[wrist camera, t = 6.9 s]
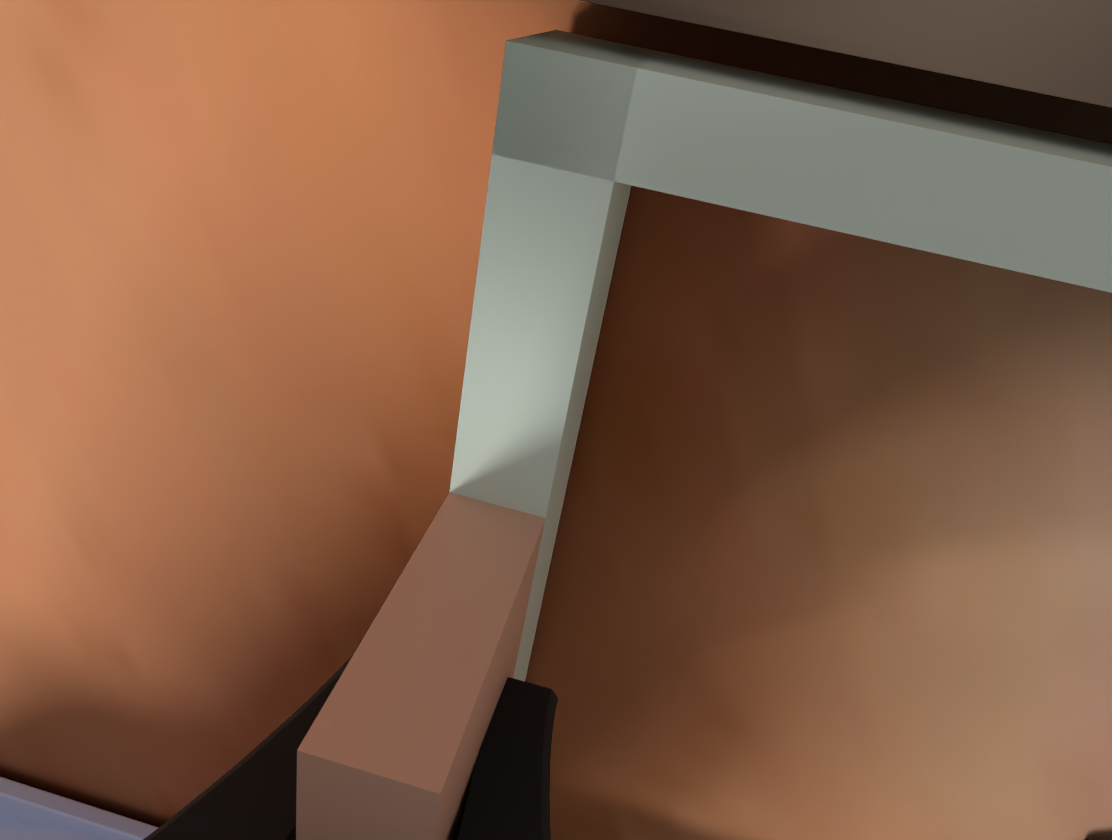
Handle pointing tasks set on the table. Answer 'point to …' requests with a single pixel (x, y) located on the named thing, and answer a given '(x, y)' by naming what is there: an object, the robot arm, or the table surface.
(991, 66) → the guide rails
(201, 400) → the table surface
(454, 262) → the table surface
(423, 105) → the table surface
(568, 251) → the open rectangular frame
